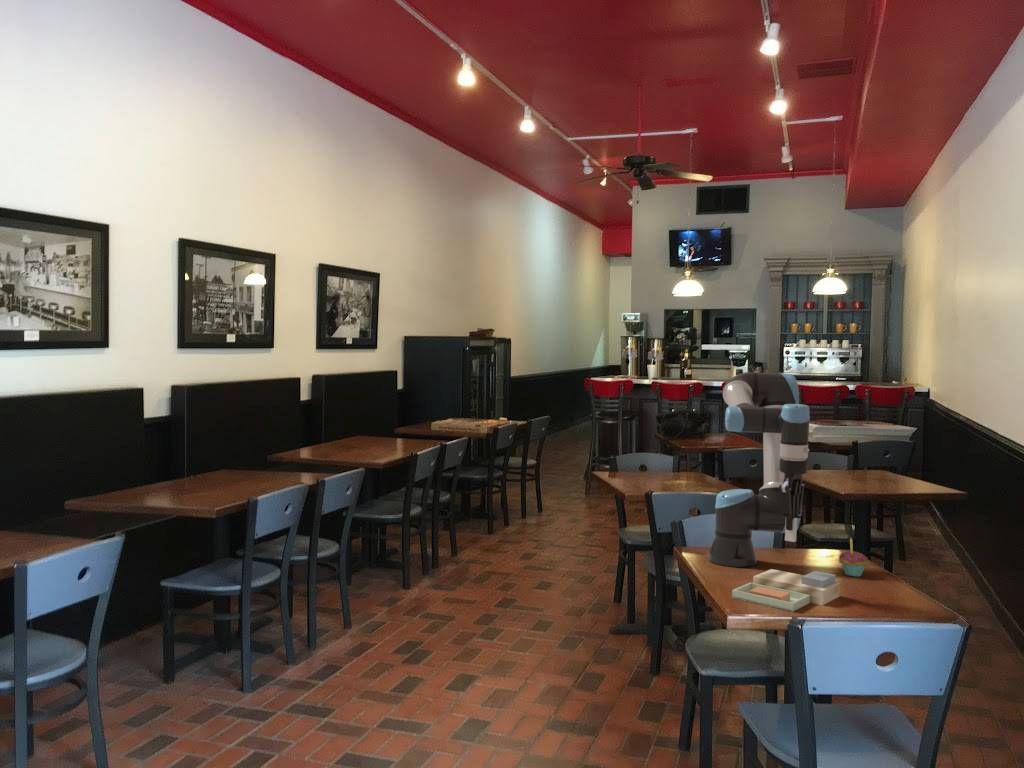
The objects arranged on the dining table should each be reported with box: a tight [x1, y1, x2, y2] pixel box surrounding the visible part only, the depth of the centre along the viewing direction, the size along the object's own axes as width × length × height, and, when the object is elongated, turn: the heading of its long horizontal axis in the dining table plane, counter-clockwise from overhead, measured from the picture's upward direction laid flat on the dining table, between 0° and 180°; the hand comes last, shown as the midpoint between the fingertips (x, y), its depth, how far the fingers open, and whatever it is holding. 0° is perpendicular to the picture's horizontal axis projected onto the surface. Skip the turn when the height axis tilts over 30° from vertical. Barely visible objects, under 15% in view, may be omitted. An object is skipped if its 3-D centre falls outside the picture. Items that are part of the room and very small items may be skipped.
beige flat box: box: [752, 568, 840, 606], centre depth 233 cm, size 20×12×4 cm, turn 48°
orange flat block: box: [749, 586, 790, 602], centre depth 225 cm, size 9×6×2 cm, turn 49°
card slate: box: [802, 570, 837, 588], centre depth 230 cm, size 9×6×2 cm, turn 138°
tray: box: [731, 582, 811, 613], centre depth 226 cm, size 17×11×2 cm, turn 48°
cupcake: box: [838, 538, 869, 577], centre depth 256 cm, size 9×8×12 cm
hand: (790, 540), depth 235 cm, fingers closed
